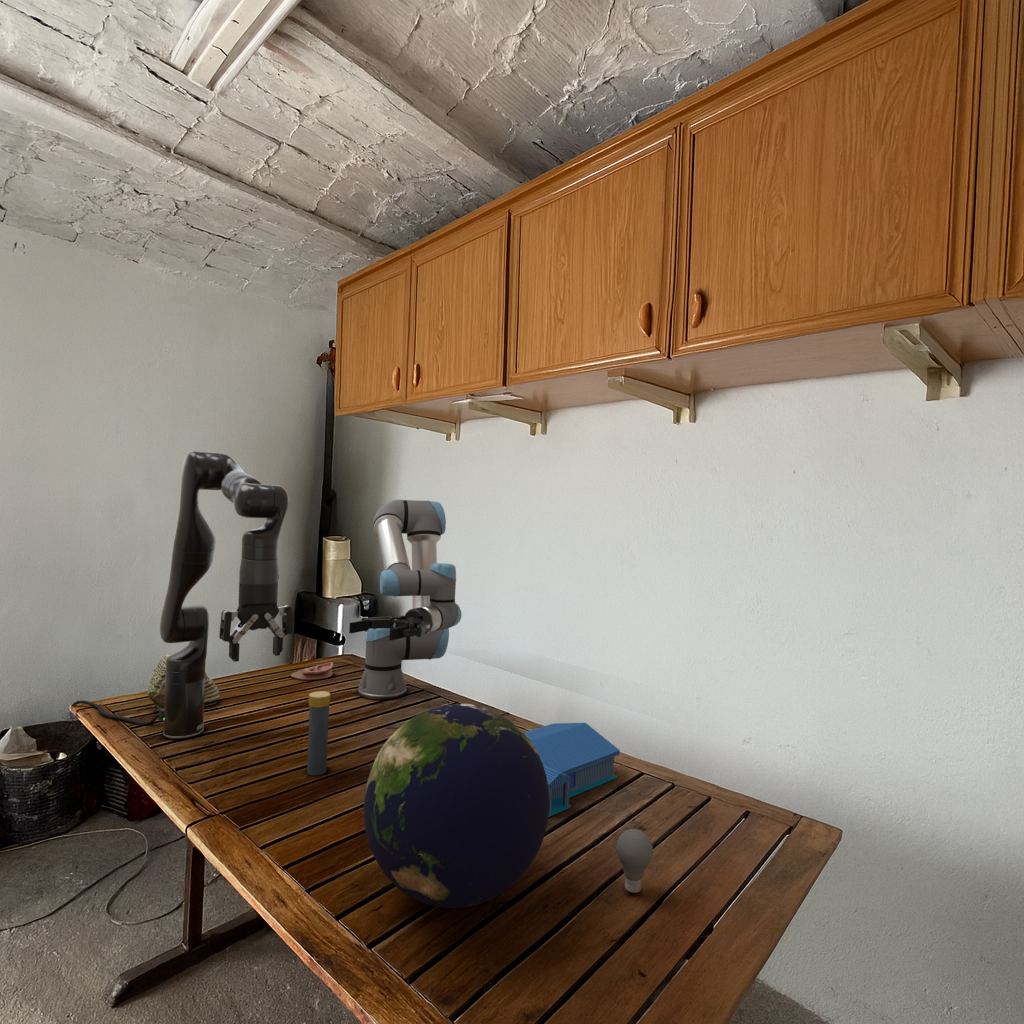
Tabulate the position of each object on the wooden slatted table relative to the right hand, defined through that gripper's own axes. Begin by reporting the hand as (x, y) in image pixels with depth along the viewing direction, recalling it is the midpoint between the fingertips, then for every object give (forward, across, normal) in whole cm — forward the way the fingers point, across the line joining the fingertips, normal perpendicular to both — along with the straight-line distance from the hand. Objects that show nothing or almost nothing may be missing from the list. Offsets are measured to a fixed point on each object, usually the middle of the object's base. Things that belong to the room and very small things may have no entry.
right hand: (370, 631), depth 162 cm
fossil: (+9, +63, -29) cm, 69 cm away
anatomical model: (-35, +58, -28) cm, 73 cm away
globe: (+36, -53, -31) cm, 71 cm away
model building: (-4, -46, -30) cm, 55 cm away
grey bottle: (+17, -1, -30) cm, 34 cm away
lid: (+18, -2, -12) cm, 21 cm away
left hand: (+34, 0, 0) cm, 34 cm away
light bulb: (+20, -78, -31) cm, 86 cm away
